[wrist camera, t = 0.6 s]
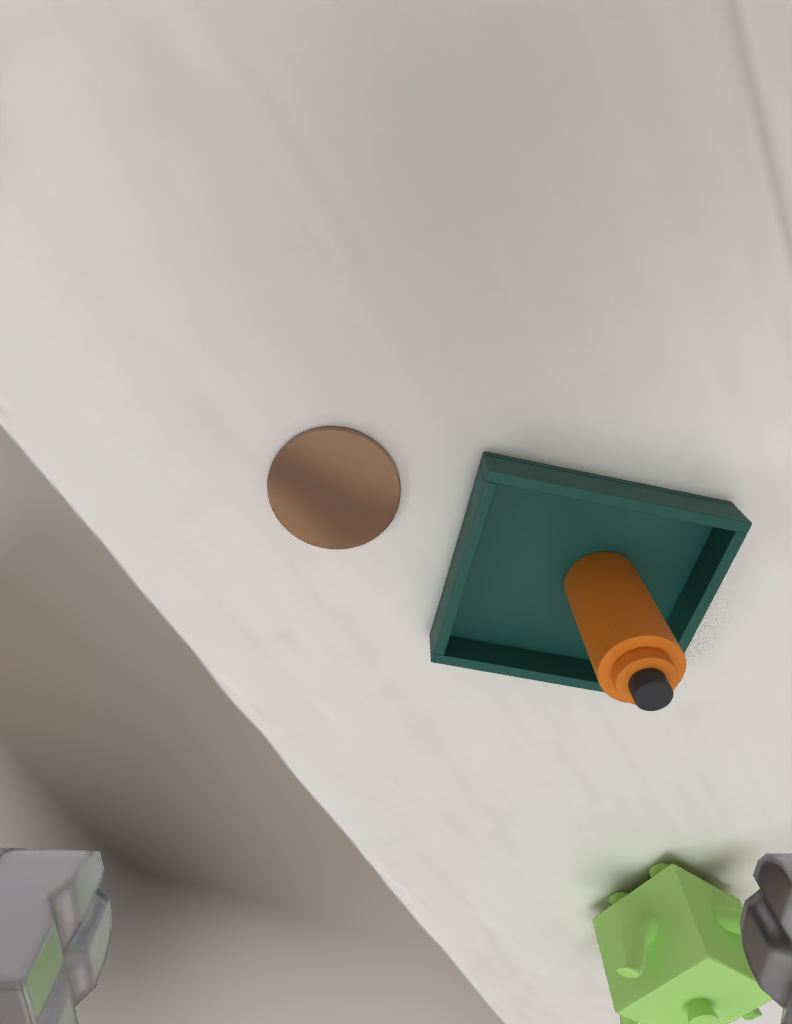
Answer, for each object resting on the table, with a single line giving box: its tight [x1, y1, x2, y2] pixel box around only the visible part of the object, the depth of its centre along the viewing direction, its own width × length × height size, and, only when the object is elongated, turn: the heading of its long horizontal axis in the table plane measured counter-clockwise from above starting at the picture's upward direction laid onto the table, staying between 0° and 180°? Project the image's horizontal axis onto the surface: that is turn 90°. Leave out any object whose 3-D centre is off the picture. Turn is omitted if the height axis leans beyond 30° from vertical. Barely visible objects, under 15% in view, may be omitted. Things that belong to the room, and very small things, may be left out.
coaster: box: [267, 427, 400, 549], centre depth 45 cm, size 9×9×1 cm
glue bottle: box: [564, 552, 686, 711], centre depth 43 cm, size 5×5×12 cm
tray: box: [430, 452, 752, 692], centre depth 47 cm, size 16×18×3 cm
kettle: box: [593, 863, 772, 1024], centre depth 61 cm, size 15×14×11 cm
